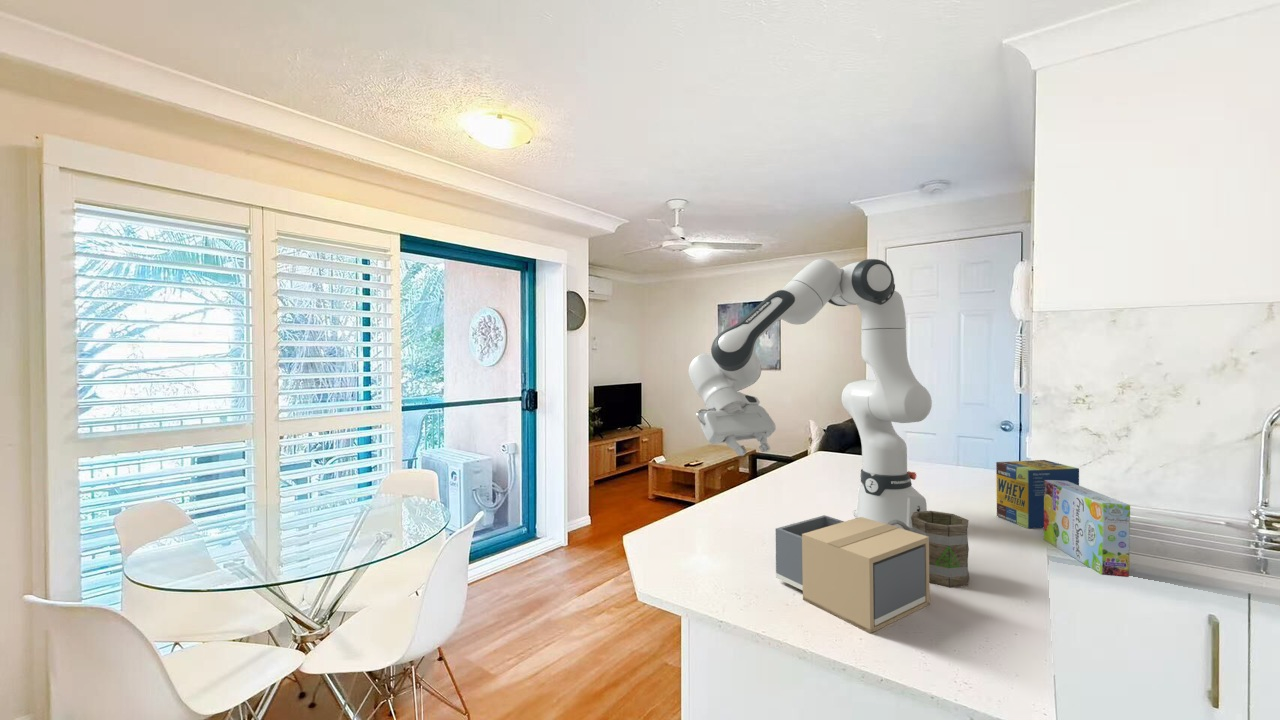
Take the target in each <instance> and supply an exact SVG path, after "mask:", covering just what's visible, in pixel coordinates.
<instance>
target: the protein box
mask: <svg viewBox="0 0 1280 720" xmlns="http://www.w3.org/2000/svg"><path fill="white" fill-rule="evenodd" d="M995 464H996V468H995V469H996V471H995V472H996V475H995V477H996V517H997V516H998V518H1000V519H1002V520H1003V519H1004V520H1005V521H1008V522H1010V523H1013V524H1015V525H1018V526H1021V527H1023V528H1025V529H1044V528H1043V527H1044V480H1060V481H1069V482H1071V483H1074V484H1076V485H1079V486H1080V468H1079V467H1074V466H1072V465H1071V466H1070V465H1067V464H1062V463H1059V462H1054V461H1050V460H1045V459H1037V460H1036V459H1035V460H1017V461H1016V460H1014V461H1011V460H1010V461H996V462H995Z"/></svg>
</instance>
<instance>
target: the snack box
mask: <svg viewBox="0 0 1280 720" xmlns="http://www.w3.org/2000/svg"><path fill="white" fill-rule="evenodd" d="M1130 535H1131V504H1129V503H1126V502H1123V501H1120V500H1119V499H1115V498H1113V497H1110V496H1108V495H1105V494H1102V493H1100V492H1097V491H1094V490H1092V489H1089V488H1086V487H1084V486H1082V485H1080V484H1079V485H1076V484H1074V483H1071V482H1069V481H1060V480H1044V528H1043V540H1044V541H1046V542H1047V543H1050V544H1051V545H1053V546H1054V547H1055V548H1057V549H1059V550H1060V551H1062V552H1064V553H1065V554H1067V555H1069V556H1071V557H1072V558H1074V559H1075V560H1076V561H1078V562H1080V563H1082V564H1083V565H1085V566H1087V567H1088V568H1090V569H1092V570H1093V571H1094V572H1096V573H1098V574H1100V575H1101V576H1110V577H1121V578H1123V577H1124V578H1129V577H1130V549H1131V547H1130V544H1131V543H1130V541H1131V540H1130V538H1131V536H1130Z"/></svg>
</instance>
